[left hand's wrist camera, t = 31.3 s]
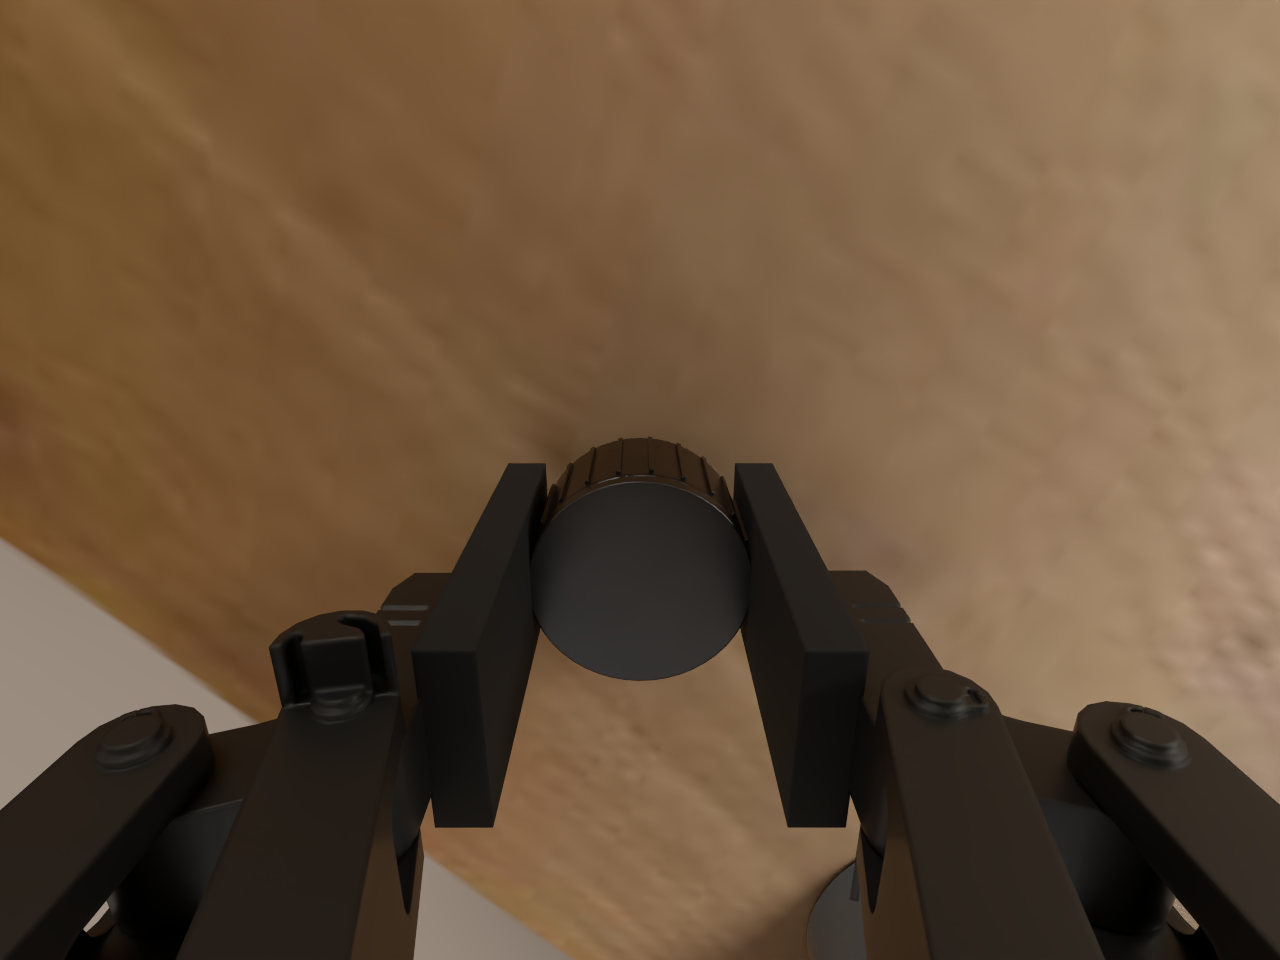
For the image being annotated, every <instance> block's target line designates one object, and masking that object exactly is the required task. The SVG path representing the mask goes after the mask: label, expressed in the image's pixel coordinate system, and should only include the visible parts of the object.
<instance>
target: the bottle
mask: <svg viewBox="0 0 1280 960" xmlns="http://www.w3.org/2000/svg"><path fill="white" fill-rule="evenodd" d="M854 866H855V862H854V863H853V864H852V865H850V866H849V867H848V868H846V869H845V870H843V871H842V872H841V873H840V874H839V875H838V876H837V877H836V878H835V879H834V880H833V881H832V882H831V883H830V884H829V885H828V886H827V888H826V889H825V890H824V891H823V893H822V894H821V896H820V897H819V899H818V900H817V902H816V904H815V906H814V908H813V911H812V913H811V915H810V919H809V923H808V927H807V940H806V942H807V950H808V955H809V960H867V956H866V946H865V937H864V927H863V918H862V908H861V898H860V897H859V902H858V901H852V900H850V893H851V886H852V879H853V873H854Z"/></svg>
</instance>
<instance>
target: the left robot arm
mask: <svg viewBox="0 0 1280 960" xmlns="http://www.w3.org/2000/svg"><path fill="white" fill-rule="evenodd" d="M733 500H736V503H737V506H738V509H739V512H740V516H741V519H742V522H743V525H744V528H745V531H746V534H747V537H748V544H746V545H747V548H748V551H749V555H750V558H751V578H750V593H749V608H748V613H747V615H746V617H745V619H744V621H743V624H742V625H741V627H740V629H741V633H742V637H743V642H744V646H745V650H746V654H747V658H748V663H749V667H750V671H751V675H752V679H753V684H754V688H755V692H756V696H757V700H758V705H759V709H760V713H761V717H762V721H763V726H764V730H765V734H766V738H767V742H768V746H769V751H770V755H771V759H772V763H773V767H774V772H775V776H776V780H777V784H778V788H779V793H780V797H781V801H782V805H783V809H784V814H785V818H786V822H787V826H788V827H844V828H846V821H847V814H848V807H849V799H850V795H851V798H852V801H853V803H854V806H855V809H856V812H857V814H858V817H859V820H860V823H861V825H860V832H859V839H858V846H857V852H856V859H855V866H854V873H853V879H852V886H851V893H850V900H852V901H858V902H859V897H860V898H861V908H862V918H863V927H864V937H865V946H866V956H867V960H1280V805H1279V804H1278V803H1277V802H1276V801H1275V800H1274V799H1273V798H1272V797H1270V796H1269V795H1268V794H1267V793H1266V792H1265V791H1264V790H1262V789H1261V788H1260V787H1259V786H1258V785H1257V784H1256V783H1255V782H1253V781H1252V780H1251V779H1250V778H1249V777H1248V776H1247V775H1245V774H1244V773H1243V772H1242V771H1241V770H1240V769H1239V768H1238V767H1236V766H1235V765H1234V764H1233V763H1232V762H1231V761H1230V760H1228V759H1227V758H1226V757H1225V756H1224V755H1223V754H1222V753H1221V752H1219V751H1218V750H1217V749H1216V748H1215V747H1214V746H1213V745H1211V744H1210V743H1209V742H1208V741H1207V740H1206V739H1205V738H1203V737H1202V736H1200V735H1199V734H1197V733H1196V732H1195V731H1193V730H1192V729H1190V728H1189V727H1187V726H1186V725H1185V724H1183V723H1181V722H1179V721H1177V720H1175V719H1173V718H1170V717H1168V716H1166V715H1164V714H1162V713H1161V712H1158V711H1156V710H1153V709H1150V708H1147V707H1145V708H1144V707H1142V706H1139V705H1134V704H1130V703H1119V702H1108V701H1105V702H1100V703H1095V704H1089V705H1087V706H1086V707H1085V708H1084V709H1083V710H1081V711H1080V712H1079V713H1078V715H1077V719H1076V722H1075V726H1074V730H1073V732H1072V731H1068V730H1063V729H1058V728H1053V727H1049V726H1044V725H1039V724H1034V723H1029V722H1025V721H1021V720H1017V719H1014V718H1010V717H1006V716H1003V715H1002V714H1001V712H1000V710H999V707H998V706H997V704H996V703H995V701H994V700H993V699H992V697H991V696H990V695H989V693H988V692H987V691H985V690H984V689H983V688H981V687H980V686H979V685H977V684H976V683H974V682H973V681H972V680H970V679H968V678H965V677H963V676H961V675H958V674H956V673H954V672H951V671H948V670H944V669H943V668H942V667H941V665H940V664H939V662H938V661H937V659H936V658H935V656H934V654H933V653H932V651H931V650H930V648H929V647H928V645H927V644H926V642H925V641H924V639H923V638H922V636H921V635H920V633H919V632H918V630H917V629H916V627H915V626H914V624H913V623H910V618H909V617H908V615H907V614H906V612H905V611H904V609H903V608H900V603H899V601H898V600H897V598H896V597H895V595H894V594H893V592H892V591H891V589H890V588H889V586H887V585H886V584H884V583H883V582H882V581H880V580H879V579H877V578H876V577H874V576H873V575H871V574H870V573H868V572H867V571H828V570H827V568H826V566H825V564H824V562H823V560H822V558H821V556H820V554H819V552H818V550H817V548H816V547H815V545H814V543H813V541H812V539H811V537H810V535H809V533H808V531H807V529H806V527H805V525H804V524H803V522H802V520H801V518H800V516H799V514H798V512H797V510H796V508H795V506H794V504H793V502H792V500H791V499H790V497H789V495H788V493H787V491H786V489H785V487H784V485H783V483H782V481H781V479H780V477H779V476H778V474H777V472H776V470H775V468H774V466H773V464H772V463H735V476H734V496H733ZM546 501H547V480H546V463H509V464H508V466H507V467H506V469H505V471H504V473H503V475H502V477H501V479H500V481H499V483H498V485H497V487H496V489H495V491H494V492H493V494H492V496H491V498H490V500H489V502H488V504H487V506H486V508H485V510H484V512H483V514H482V516H481V517H480V519H479V521H478V523H477V525H476V527H475V529H474V531H473V533H472V535H471V537H470V539H469V541H468V542H467V544H466V546H465V548H464V550H463V552H462V554H461V556H460V558H459V560H458V562H457V564H456V565H455V567H454V569H453V571H452V573H414V574H413V575H412V576H410V577H409V578H407V579H406V580H404V581H403V582H401V583H400V584H399V585H397V586H396V587H394V588H393V589H392V590H391V592H390V593H389V595H388V596H387V598H386V600H385V601H384V603H383V604H382V606H381V610H378V612H377V613H376V614H374V613H370V612H367V611H337V612H332V613H327V614H321V615H318V616H315V617H312V618H310V619H307V620H304V621H302V622H299V623H297V624H295V625H294V626H292V627H291V628H289V629H287V630H286V631H284V632H283V633H281V634H280V635H279V636H278V637H277V638H276V639H275V640H274V642H273V643H272V644H271V645H270V646H269V650H270V655H271V659H272V664H273V668H274V673H275V677H276V682H277V686H278V691H279V695H280V700H281V704H282V709H281V711H280V713H279V716H278V718H277V719H274V720H271V721H267V722H264V723H260V724H256V725H251V726H247V727H242V728H237V729H232V730H228V731H223V732H218V733H213V734H209V733H208V730H207V726H206V723H205V719H204V716H203V715H202V714H200V713H199V712H198V711H197V710H196V709H195V708H193V707H187V706H182V705H177V704H173V705H162V706H152V707H148V708H143V709H140V710H138V711H137V710H135V711H132V712H129V713H126V714H124V715H122V716H120V717H118V718H116V719H114V720H112V721H110V722H107V723H105V724H103V725H101V726H99V727H98V728H96V729H95V730H93V731H92V732H91V733H89V734H88V735H86V736H85V737H83V738H82V739H81V740H79V741H78V742H77V743H75V744H74V745H73V746H72V747H71V748H70V749H69V750H68V751H66V752H65V753H64V754H63V755H62V756H61V757H60V758H59V759H57V760H56V761H55V762H54V763H53V764H52V765H51V766H50V767H48V768H47V769H46V770H45V771H44V772H43V773H42V774H41V775H39V776H38V777H37V778H36V779H35V780H34V781H33V782H32V783H30V784H29V785H28V786H27V787H26V788H25V789H24V790H23V791H21V792H20V793H19V794H18V795H17V796H16V797H15V798H14V799H12V800H11V801H10V802H9V803H8V804H7V805H6V806H5V807H4V808H2V809H1V810H0V960H413V958H414V948H415V938H416V929H417V919H418V910H419V900H420V890H421V880H422V871H423V862H424V852H423V846H422V839H421V832H420V826H421V823H422V820H423V818H424V815H425V812H426V809H427V806H428V803H429V801H430V798H431V801H432V808H433V815H434V823H435V828H492V827H493V825H494V821H495V817H496V813H497V809H498V804H499V800H500V796H501V792H502V788H503V783H504V779H505V775H506V771H507V767H508V762H509V758H510V754H511V750H512V746H513V741H514V737H515V733H516V729H517V725H518V720H519V716H520V712H521V708H522V704H523V699H524V695H525V691H526V687H527V683H528V678H529V674H530V670H531V666H532V662H533V657H534V653H535V649H536V645H537V641H538V636H539V632H540V628H541V627H540V626H539V624H538V622H537V620H536V618H535V615H534V613H533V610H532V596H531V581H530V557H531V554H532V551H533V547H534V544H535V541H536V538H537V535H538V532H539V528H540V525H539V523H540V520H541V516H542V513H543V510H544V507H545V504H546ZM1175 898H1177V899H1178V900H1179V901H1180V903H1181V904H1182V905H1183V906H1184V907H1185V909H1186V910H1187V911H1188V912H1189V914H1190V915H1191V916H1192V917H1193V918H1194V920H1195V921H1196V922H1197V923H1198V924H1199V927H1198V929H1197V930H1195V929H1194V928H1192V927H1191V926H1190V925H1189V924H1188V923H1187V922H1186V921H1185V920H1184V919H1183V917H1182V916H1181V915H1180V914H1179V912H1178V911H1177V910H1176V909H1175V908H1174V906H1173V903H1174V900H1175ZM106 900H107V903H108V905H109V909H108V910H107V911H106V913H105V914H104V915H103V916H102V918H101V919H100V920H99V921H98V922H97V923H96V924H95V925H94V926H93V927H92V928H91V929H89V930H88V931H87V932H85V931H84V930H83V928H84V927H85V926H86V925H87V923H88V922H89V921H90V920H91V919H92V917H93V916H94V915H95V914H96V913H97V911H98V910H99V909H100V908H101V906H102V905H103V904H104V903H105V902H106Z"/></svg>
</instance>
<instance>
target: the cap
mask: <svg viewBox="0 0 1280 960" xmlns="http://www.w3.org/2000/svg"><path fill="white" fill-rule="evenodd" d="M539 525H540V528H539V532H538V535H537V538H536V541H535V544H534V547H533V551H532V554H531V557H530V581H531V596H532V610H533V613H534V615H535V618H536V620H537V622H538V624H539V626H540V627H541V629H542V630H543V632H544V634H545V635H546V636H547V638H548V639H549V640H550V641H551V642H552V644H553V645H554V646H555V647H556V648H557V649H559V650H560V651H561V652H562V653H563V654H564V655H565V656H567V657H568V658H570V659H571V660H572V661H574V662H575V663H577V664H579V665H581V666H582V667H584V668H586V669H588V670H591V671H593V672H596V673H598V674H601V675H605V676H608V677H612V678H617V679H623V680H635V681H645V680H657V679H664V678H669V677H672V676H676V675H680V674H682V673H685V672H687V671H690V670H692V669H694V668H696V667H698V666H700V665H702V664H704V663H706V662H707V661H708V660H710V659H711V658H713V657H714V656H715V655H717V654H718V653H719V652H720V651H721V650H722V649H723V648H724V647H726V646H727V644H728V643H729V642H730V641H731V640H732V639H733V637H734V636H735V635H736V633H737V632H738V630H739V629H740V627H741V625H742V624H743V621H744V619H745V617H746V615H747V613H748V608H749V593H750V578H751V558H750V555H749V551H748V548H747V545H746V544H748V537H747V534H746V531H745V528H744V525H743V522H742V519H741V516H740V512H739V509H738V506H737V503H736V500H732V498H731V495H730V493H729V491H728V488H727V485H726V481H725V478H724V477H723V476H722V477H720V476H719V475H718V474H717V473H716V471H715V470H714V469H713V468H712V467H711V466H710V465H709V464H708V463H707V462H706V458H704V457H702V458H700V457H699V456H697V455H696V454H694V453H693V452H691V451H689V450H687V449H685V448H683V447H681V444H679V443H677V444H673V443H670V442H666V441H662V440H658V439H652V437H648V439H646V438H635V439H631V438H630V439H624V440H623V438H619V439H618V441H614V442H611V443H608V444H605V445H602V446H600V447H597V448H595V447H592V448H591V450H590V452H588V453H586V454H585V455H583V456H582V457H580V458H579V459H578V460H576V461H575V462H574V463H573V464H572V463H571V462H570V463H569V464H568V466H567V469H566V471H565V472H564V473H563V474H562V476H561V477H560V479H559V480H558V482H557V483H556V484H552V486H551V489H550V492H549V495H548V498H547V501H546V504H545V507H544V510H543V513H542V516H541V520H540V523H539Z"/></svg>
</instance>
